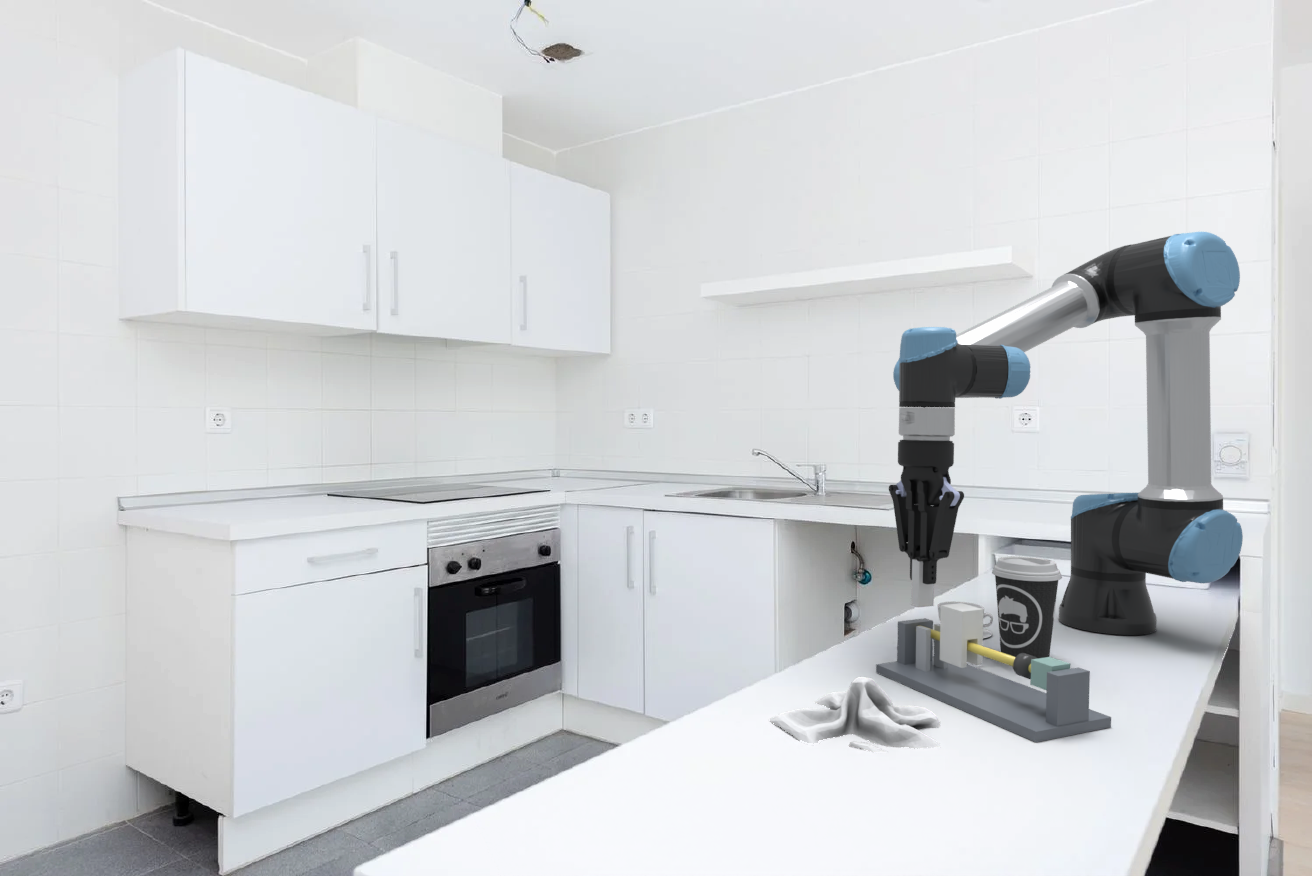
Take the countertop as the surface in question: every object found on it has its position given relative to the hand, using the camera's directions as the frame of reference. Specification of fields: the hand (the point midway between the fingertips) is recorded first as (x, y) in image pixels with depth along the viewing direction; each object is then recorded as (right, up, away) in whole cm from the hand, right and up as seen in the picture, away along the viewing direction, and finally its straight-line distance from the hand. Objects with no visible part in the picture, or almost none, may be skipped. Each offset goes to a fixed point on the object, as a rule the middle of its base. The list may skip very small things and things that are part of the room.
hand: (922, 605), depth 122 cm
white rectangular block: (+3, -6, -7) cm, 10 cm away
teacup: (+13, -9, +23) cm, 28 cm away
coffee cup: (+17, -10, +6) cm, 21 cm away
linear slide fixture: (+5, -10, -10) cm, 15 cm away
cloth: (-12, -11, -21) cm, 27 cm away
